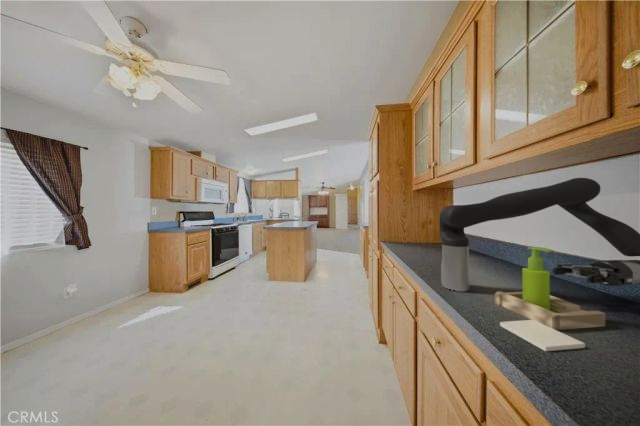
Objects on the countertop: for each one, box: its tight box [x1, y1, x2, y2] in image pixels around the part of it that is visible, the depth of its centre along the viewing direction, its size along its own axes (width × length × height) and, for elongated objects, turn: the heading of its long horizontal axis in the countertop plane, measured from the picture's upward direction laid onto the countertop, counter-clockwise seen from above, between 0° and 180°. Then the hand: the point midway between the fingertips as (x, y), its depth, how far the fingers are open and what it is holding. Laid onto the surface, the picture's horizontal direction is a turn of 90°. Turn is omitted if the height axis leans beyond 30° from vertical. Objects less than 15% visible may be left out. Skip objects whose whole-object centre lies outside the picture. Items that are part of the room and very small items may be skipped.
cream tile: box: [499, 319, 586, 352], centre depth 55 cm, size 11×10×1 cm
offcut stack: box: [550, 294, 585, 313], centre depth 67 cm, size 11×5×4 cm, turn 6°
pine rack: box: [494, 290, 606, 331], centre depth 66 cm, size 17×16×4 cm
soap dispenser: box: [521, 246, 555, 310], centre depth 66 cm, size 6×7×20 cm
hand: (570, 274), depth 67 cm, fingers open, 8 cm apart
